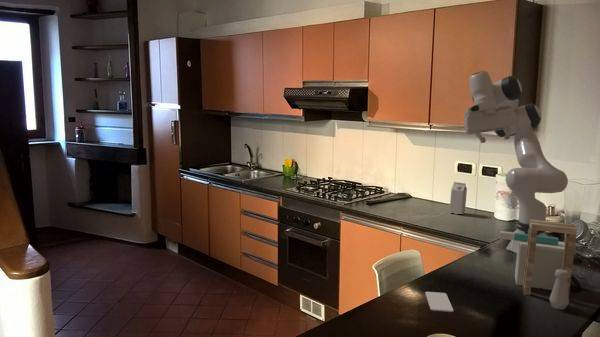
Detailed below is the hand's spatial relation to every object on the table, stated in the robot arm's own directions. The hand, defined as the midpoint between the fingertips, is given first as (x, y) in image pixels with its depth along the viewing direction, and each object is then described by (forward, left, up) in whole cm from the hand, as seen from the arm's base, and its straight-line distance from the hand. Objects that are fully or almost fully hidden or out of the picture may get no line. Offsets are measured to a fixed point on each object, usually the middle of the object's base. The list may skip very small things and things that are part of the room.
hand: (495, 140), depth 192 cm
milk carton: (-97, -14, -53) cm, 111 cm away
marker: (+8, +15, -37) cm, 40 cm away
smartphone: (+41, -14, -53) cm, 69 cm away
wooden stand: (+19, +21, -53) cm, 59 cm away
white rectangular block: (+8, +20, -53) cm, 57 cm away
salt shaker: (+29, +24, -53) cm, 65 cm away
